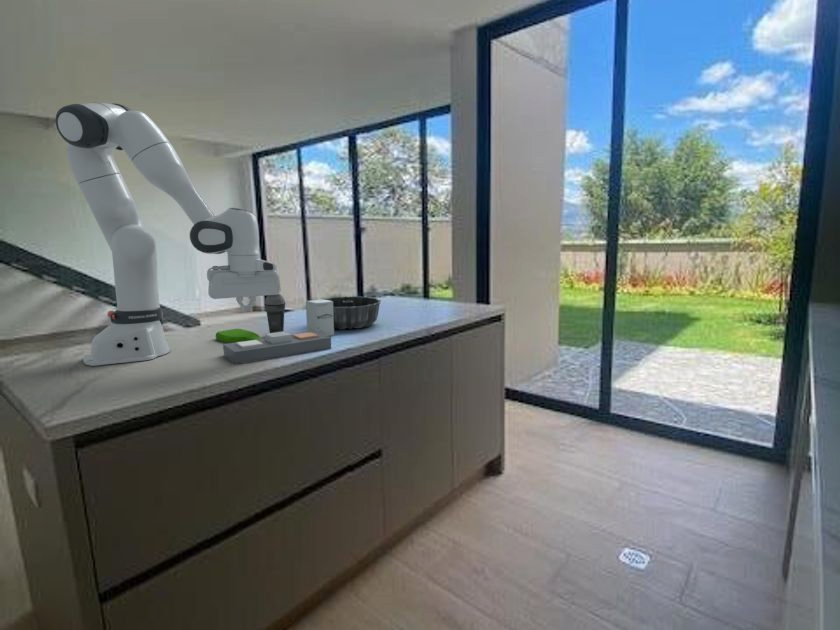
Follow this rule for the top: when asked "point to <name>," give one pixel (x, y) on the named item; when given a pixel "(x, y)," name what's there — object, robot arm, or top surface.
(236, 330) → the green rounded slab
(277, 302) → the beverage cup
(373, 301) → the bundt pan
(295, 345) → the keypad
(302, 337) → the terracotta key
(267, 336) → the grey key
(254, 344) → the ivory key
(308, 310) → the supplement box
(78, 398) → the top surface
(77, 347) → the top surface
